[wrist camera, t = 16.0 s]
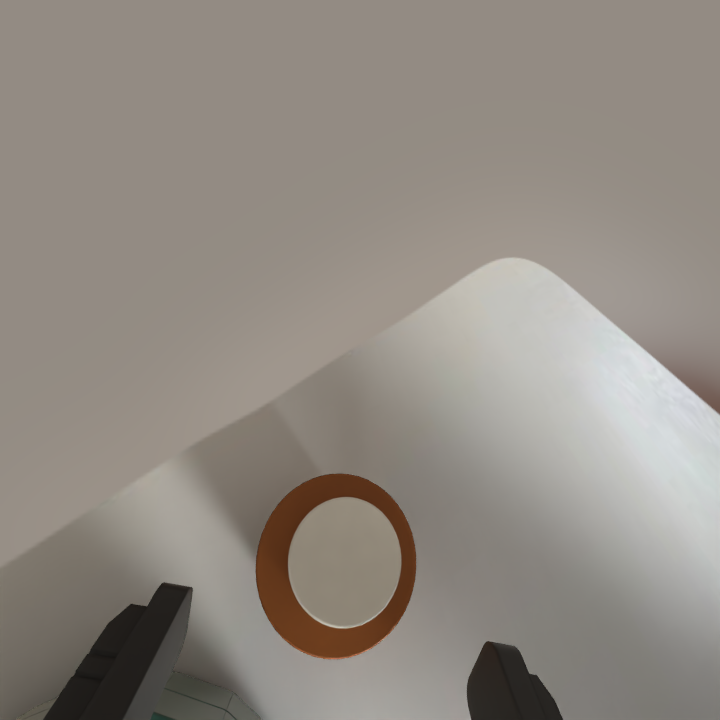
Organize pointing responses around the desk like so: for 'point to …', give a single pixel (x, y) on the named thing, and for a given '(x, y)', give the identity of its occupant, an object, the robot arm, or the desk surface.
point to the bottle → (336, 566)
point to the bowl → (183, 702)
